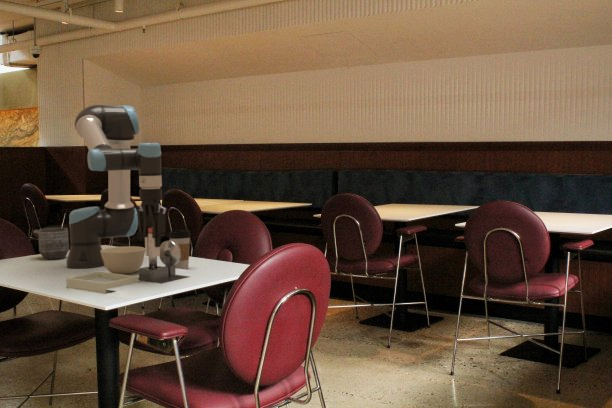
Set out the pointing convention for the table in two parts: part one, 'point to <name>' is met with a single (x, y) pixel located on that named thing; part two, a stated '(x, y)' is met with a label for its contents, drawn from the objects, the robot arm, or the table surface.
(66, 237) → the planter
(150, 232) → the pin
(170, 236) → the coffee cup
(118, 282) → the tray
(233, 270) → the table surface
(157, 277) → the block
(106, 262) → the bowl
